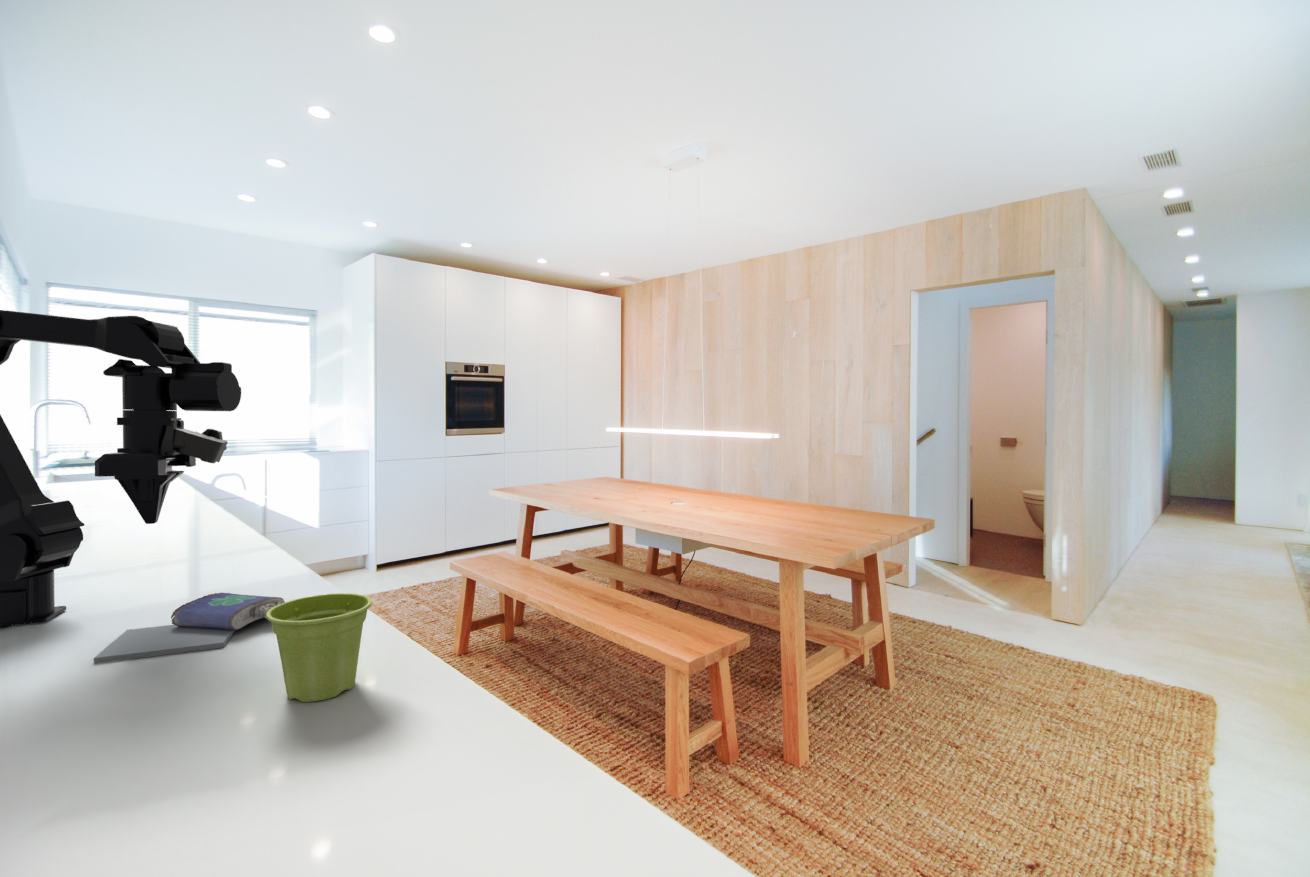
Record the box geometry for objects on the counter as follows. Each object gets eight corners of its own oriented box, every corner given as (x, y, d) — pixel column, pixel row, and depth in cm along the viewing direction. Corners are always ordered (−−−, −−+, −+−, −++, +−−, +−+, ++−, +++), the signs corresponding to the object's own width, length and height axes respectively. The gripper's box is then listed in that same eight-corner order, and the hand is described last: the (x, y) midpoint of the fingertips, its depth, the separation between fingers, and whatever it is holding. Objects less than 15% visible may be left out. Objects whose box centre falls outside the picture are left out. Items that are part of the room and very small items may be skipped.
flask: (169, 629, 76) (244, 633, 75) (169, 606, 76) (244, 610, 75) (230, 608, 85) (298, 612, 84) (230, 587, 85) (298, 591, 84)
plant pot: (260, 720, 55) (260, 626, 54) (271, 680, 63) (271, 599, 63) (373, 699, 59) (373, 612, 59) (369, 665, 67) (370, 588, 67)
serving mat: (127, 634, 76) (127, 629, 76) (240, 622, 81) (240, 617, 81) (93, 663, 67) (93, 658, 67) (223, 647, 72) (223, 642, 72)
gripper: (204, 410, 77) (205, 530, 77) (235, 412, 94) (235, 511, 94) (92, 408, 72) (93, 536, 73) (145, 411, 89) (146, 514, 90)
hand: (151, 523), depth 82 cm, fingers closed
